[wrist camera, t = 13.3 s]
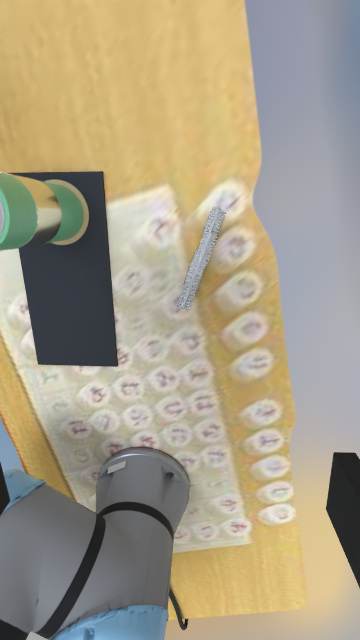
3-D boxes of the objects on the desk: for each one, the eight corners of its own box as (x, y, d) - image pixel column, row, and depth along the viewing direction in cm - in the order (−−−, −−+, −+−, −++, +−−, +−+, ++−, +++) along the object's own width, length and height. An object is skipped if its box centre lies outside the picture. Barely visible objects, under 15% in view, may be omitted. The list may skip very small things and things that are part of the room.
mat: (117, 365, 46) (117, 366, 45) (39, 363, 47) (37, 364, 46) (102, 171, 38) (101, 171, 37) (7, 173, 38) (5, 173, 38)
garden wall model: (211, 206, 38) (213, 204, 32) (225, 211, 38) (229, 211, 33) (178, 295, 42) (174, 307, 36) (190, 300, 42) (189, 313, 36)
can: (16, 255, 25) (0, 162, 23) (-63, 254, 25) (-85, 164, 23) (86, 240, 40) (81, 184, 38) (36, 240, 40) (28, 184, 38)
